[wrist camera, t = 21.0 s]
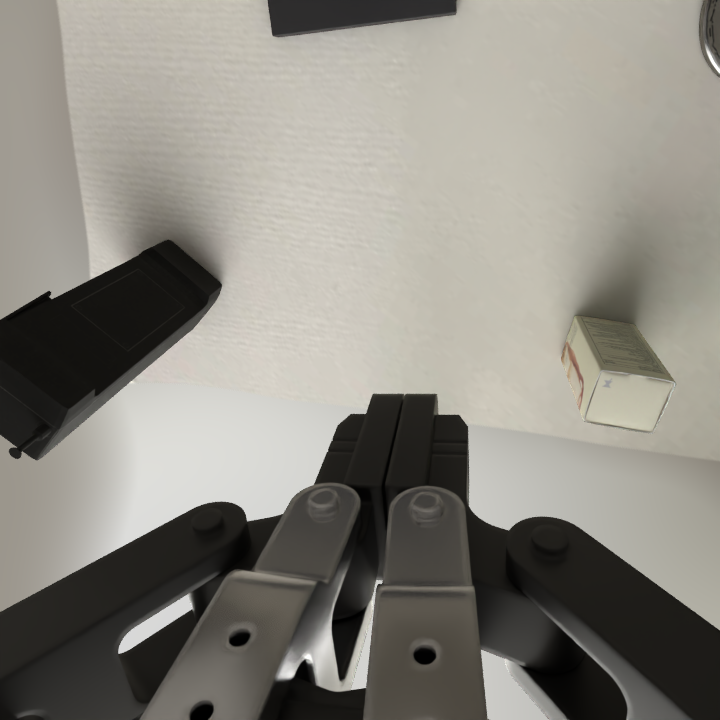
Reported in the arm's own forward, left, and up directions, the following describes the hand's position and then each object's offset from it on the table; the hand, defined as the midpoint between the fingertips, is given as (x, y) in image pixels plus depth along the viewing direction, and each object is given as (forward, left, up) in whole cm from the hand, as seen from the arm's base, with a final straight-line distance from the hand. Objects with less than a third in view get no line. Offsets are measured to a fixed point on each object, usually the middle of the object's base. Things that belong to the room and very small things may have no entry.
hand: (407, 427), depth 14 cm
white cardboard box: (-9, +15, -35) cm, 39 cm away
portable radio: (+26, +2, -35) cm, 44 cm away
